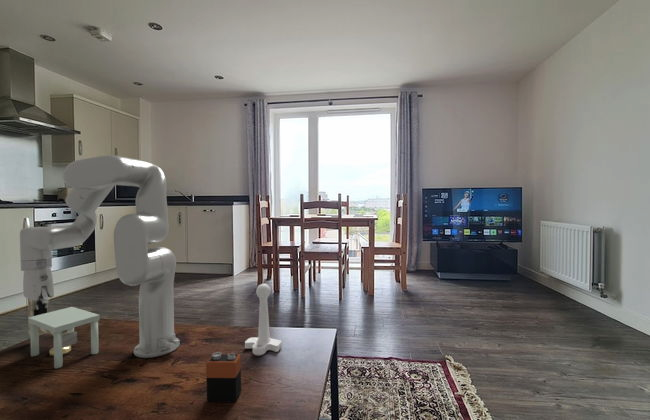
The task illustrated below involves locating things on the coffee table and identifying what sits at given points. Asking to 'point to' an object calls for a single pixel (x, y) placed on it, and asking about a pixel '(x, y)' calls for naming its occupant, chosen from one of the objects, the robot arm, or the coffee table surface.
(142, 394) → the coffee table surface
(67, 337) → the hoe
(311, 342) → the coffee table surface
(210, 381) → the battery
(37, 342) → the stand
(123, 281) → the robot arm
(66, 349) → the token
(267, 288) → the joystick
